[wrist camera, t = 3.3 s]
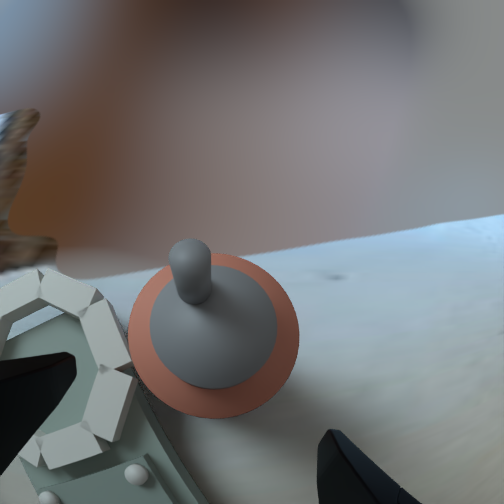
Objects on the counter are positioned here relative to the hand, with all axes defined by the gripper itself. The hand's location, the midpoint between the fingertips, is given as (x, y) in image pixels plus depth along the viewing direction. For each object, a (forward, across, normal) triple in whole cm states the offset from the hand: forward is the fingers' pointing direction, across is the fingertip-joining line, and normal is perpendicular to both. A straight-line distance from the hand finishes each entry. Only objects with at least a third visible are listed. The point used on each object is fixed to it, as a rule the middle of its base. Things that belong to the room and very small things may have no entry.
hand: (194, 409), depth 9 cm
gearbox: (+4, -7, -11) cm, 14 cm away
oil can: (+10, 0, -6) cm, 11 cm away
